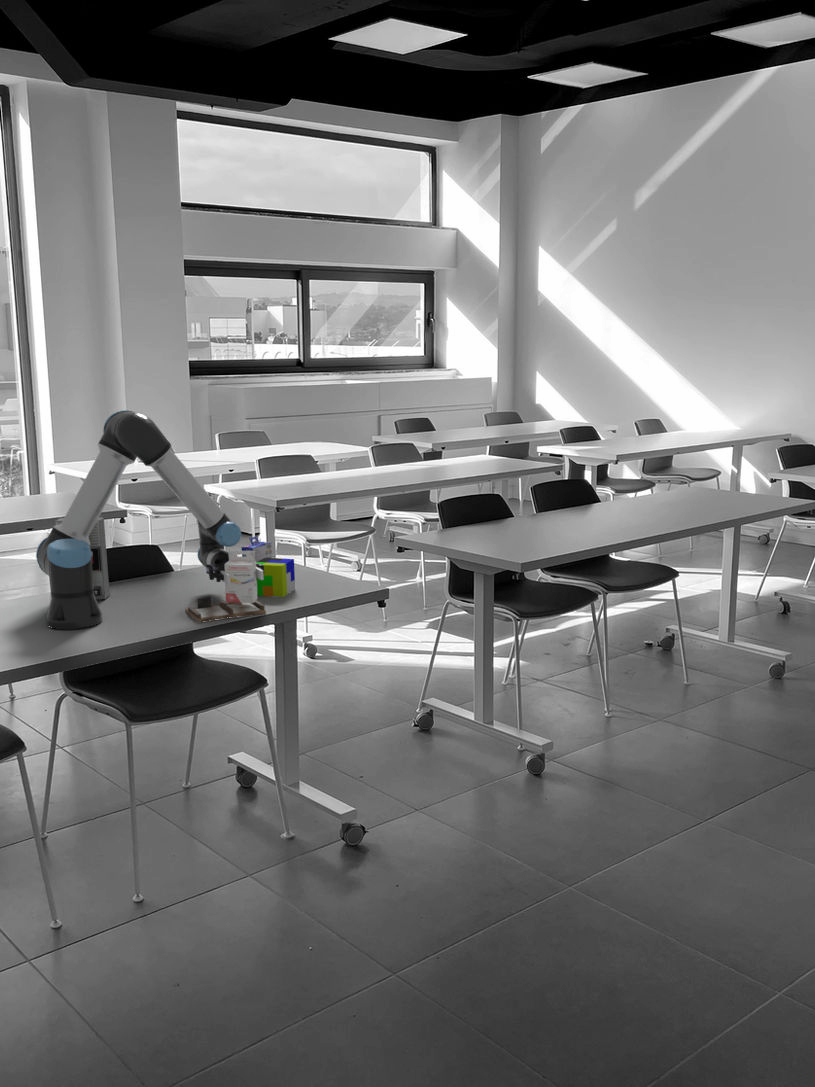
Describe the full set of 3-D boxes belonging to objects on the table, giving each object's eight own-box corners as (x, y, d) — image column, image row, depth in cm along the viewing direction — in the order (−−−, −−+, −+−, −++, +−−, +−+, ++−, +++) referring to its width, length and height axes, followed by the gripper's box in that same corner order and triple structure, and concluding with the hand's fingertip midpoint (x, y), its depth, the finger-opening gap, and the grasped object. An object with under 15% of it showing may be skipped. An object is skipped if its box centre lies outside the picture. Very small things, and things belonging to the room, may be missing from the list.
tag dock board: (198, 623, 300) (198, 609, 299) (185, 611, 312) (184, 598, 311) (265, 613, 309) (265, 600, 308) (250, 603, 321) (249, 590, 320)
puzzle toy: (295, 589, 337) (293, 559, 335) (283, 597, 328) (281, 565, 326) (266, 588, 340) (264, 557, 338) (253, 595, 330) (251, 564, 328)
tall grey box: (60, 601, 327) (53, 521, 322) (66, 596, 333) (59, 518, 328) (104, 600, 327) (98, 520, 322) (110, 595, 333) (104, 517, 328)
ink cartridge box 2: (261, 576, 355) (260, 534, 352) (274, 578, 352) (272, 535, 350) (242, 582, 347) (240, 539, 344) (255, 584, 344) (253, 541, 341)
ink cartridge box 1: (225, 603, 309) (222, 553, 306) (229, 598, 314) (227, 550, 311) (254, 603, 308) (251, 554, 305) (258, 598, 313) (255, 550, 310)
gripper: (257, 570, 331) (282, 585, 311) (187, 579, 321) (209, 595, 301) (255, 547, 329) (281, 560, 310) (186, 555, 320) (207, 569, 300)
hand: (245, 577), depth 306 cm, fingers closed on ink cartridge box 1, 9 cm apart
